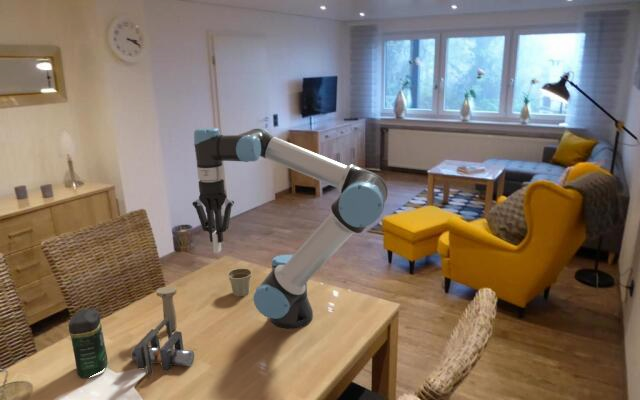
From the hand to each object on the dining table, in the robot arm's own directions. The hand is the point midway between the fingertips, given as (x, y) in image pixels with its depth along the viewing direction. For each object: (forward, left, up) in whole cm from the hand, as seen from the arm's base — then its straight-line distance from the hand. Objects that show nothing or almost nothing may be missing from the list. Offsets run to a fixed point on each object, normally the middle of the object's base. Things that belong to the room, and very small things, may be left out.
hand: (217, 251), depth 142 cm
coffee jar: (+32, +24, -30) cm, 50 cm away
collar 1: (+18, +17, -29) cm, 38 cm away
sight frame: (+14, +17, -29) cm, 37 cm away
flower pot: (+4, -27, -30) cm, 40 cm away
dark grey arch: (+10, +17, -29) cm, 35 cm away
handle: (+19, +1, -30) cm, 35 cm away
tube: (+13, +17, -29) cm, 36 cm away
